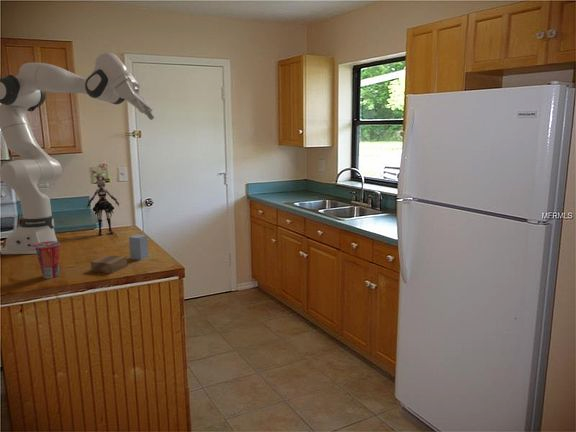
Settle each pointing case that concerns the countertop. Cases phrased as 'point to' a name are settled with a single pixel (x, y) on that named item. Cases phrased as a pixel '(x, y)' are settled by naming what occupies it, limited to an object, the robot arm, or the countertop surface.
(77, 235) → the countertop surface
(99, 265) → the walnut block
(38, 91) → the robot arm
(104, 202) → the figurine
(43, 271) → the cup
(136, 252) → the blue block
